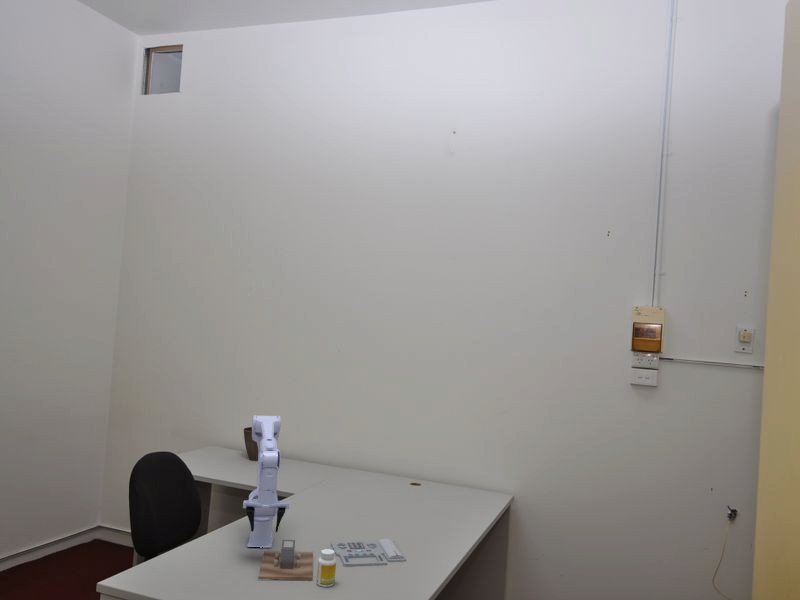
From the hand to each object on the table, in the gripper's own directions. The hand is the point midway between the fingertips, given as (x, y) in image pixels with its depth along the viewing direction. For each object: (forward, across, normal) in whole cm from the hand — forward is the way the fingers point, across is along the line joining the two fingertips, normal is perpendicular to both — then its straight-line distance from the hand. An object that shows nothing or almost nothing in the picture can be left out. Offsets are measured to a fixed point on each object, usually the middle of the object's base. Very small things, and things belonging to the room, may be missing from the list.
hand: (264, 530), depth 203 cm
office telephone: (+10, +35, +7) cm, 37 cm away
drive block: (+8, +8, -5) cm, 13 cm away
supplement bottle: (+10, +20, -17) cm, 28 cm away
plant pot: (+10, -15, +136) cm, 137 cm away
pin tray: (+9, +8, -5) cm, 13 cm away
